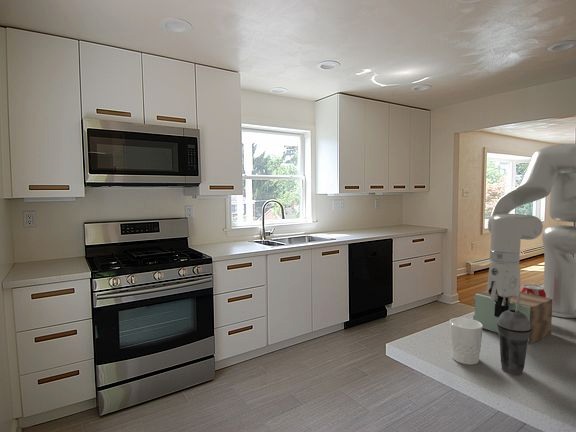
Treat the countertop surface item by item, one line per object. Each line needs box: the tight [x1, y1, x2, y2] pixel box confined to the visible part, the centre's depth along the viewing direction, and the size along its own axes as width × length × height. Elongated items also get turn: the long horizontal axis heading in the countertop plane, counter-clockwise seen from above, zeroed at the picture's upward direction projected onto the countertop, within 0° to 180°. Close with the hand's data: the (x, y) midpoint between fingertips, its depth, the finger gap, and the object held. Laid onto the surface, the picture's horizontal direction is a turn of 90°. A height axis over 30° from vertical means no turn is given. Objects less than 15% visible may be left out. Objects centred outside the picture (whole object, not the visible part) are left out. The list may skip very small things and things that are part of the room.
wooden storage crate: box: [477, 290, 553, 345], centre depth 113 cm, size 13×16×11 cm
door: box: [472, 293, 531, 342], centre depth 109 cm, size 2×16×10 cm, turn 32°
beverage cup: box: [497, 293, 531, 377], centre depth 88 cm, size 7×7×20 cm
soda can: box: [520, 284, 546, 298], centre depth 119 cm, size 7×7×12 cm
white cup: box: [449, 317, 483, 365], centre depth 95 cm, size 8×8×10 cm
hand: (501, 317), depth 106 cm, fingers closed
